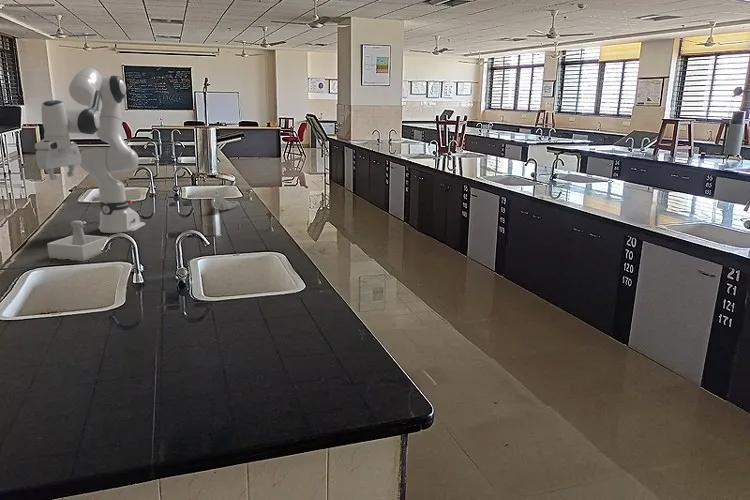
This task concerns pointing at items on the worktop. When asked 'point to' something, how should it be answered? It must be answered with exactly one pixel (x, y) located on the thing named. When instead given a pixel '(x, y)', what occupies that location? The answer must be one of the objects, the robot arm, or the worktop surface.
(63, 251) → the box
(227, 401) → the worktop surface
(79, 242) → the salt shaker
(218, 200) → the skeletal model
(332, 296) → the worktop surface
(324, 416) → the worktop surface
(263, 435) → the worktop surface
